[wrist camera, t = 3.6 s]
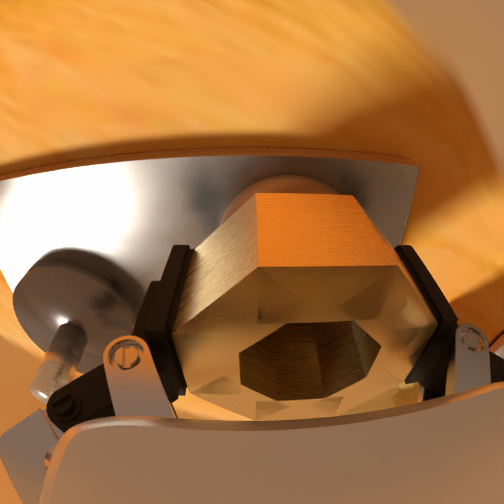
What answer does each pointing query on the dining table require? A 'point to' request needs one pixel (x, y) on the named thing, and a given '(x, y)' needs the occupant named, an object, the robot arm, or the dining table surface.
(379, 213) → the plate
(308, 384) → the collar
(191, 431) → the robot arm
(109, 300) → the hub
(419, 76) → the dining table surface
